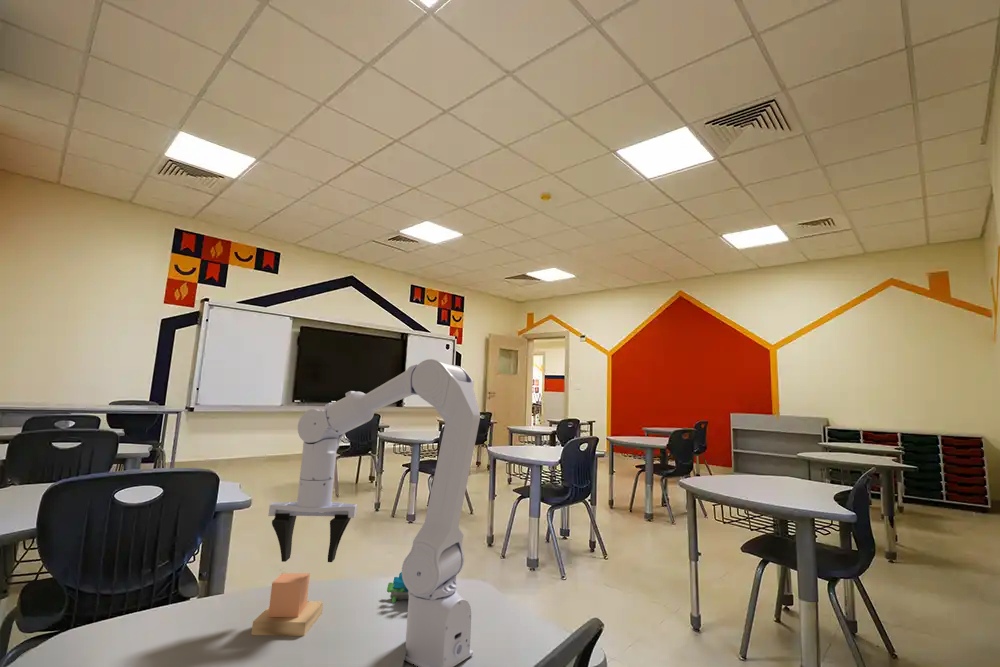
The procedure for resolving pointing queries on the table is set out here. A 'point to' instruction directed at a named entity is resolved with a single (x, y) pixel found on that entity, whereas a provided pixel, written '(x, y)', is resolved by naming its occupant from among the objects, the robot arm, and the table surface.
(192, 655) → the table surface
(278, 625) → the tower top
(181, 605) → the table surface
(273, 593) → the block
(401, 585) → the gear
